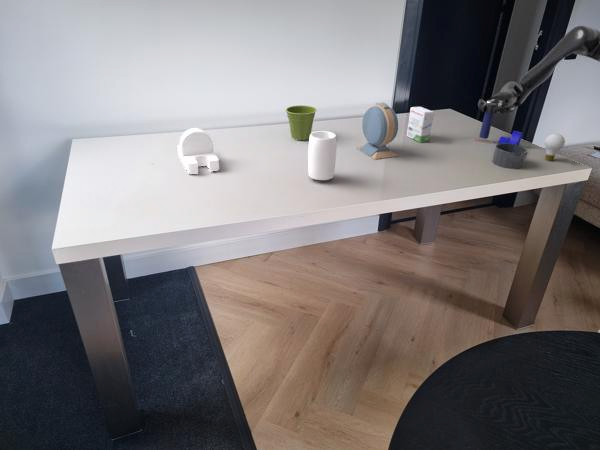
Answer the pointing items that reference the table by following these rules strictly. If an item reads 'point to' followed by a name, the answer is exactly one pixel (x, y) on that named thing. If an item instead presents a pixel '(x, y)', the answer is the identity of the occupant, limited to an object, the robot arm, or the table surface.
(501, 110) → the robot arm
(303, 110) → the plant pot
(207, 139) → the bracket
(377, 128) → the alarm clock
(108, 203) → the table surface
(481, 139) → the coaster
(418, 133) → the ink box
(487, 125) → the marker
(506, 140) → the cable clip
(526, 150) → the pen pot
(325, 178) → the cup
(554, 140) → the light bulb
